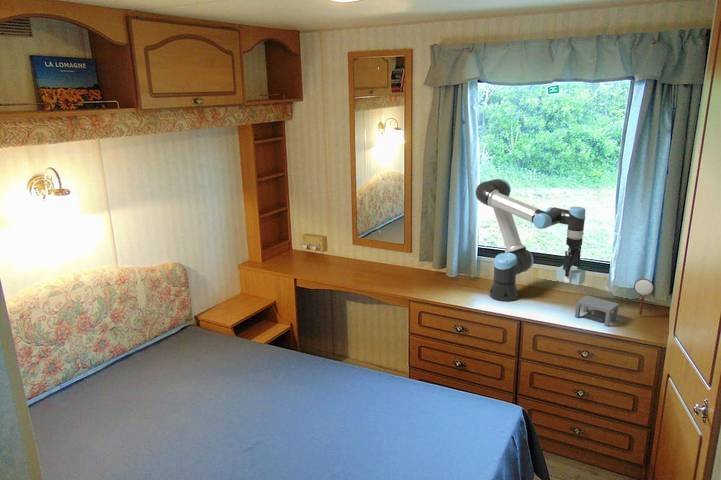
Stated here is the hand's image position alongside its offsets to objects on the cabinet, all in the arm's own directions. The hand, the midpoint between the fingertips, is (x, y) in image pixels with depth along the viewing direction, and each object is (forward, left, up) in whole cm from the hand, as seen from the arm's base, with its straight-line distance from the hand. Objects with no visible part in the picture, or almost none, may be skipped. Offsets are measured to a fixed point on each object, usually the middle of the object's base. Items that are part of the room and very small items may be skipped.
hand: (570, 279), depth 273 cm
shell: (0, 0, 0) cm, 0 cm away
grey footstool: (+17, -6, -14) cm, 23 cm away
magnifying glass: (+32, +10, -14) cm, 37 cm away
